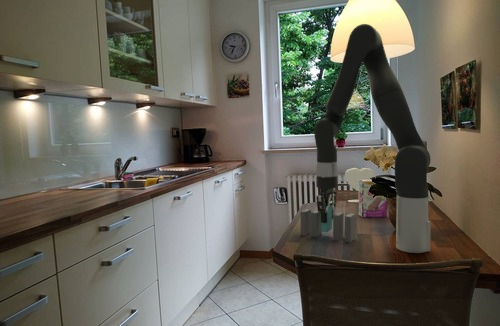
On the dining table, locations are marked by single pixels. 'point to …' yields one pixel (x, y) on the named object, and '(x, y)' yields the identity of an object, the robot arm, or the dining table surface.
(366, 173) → the heart sculpture
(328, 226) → the domino
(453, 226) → the dining table surface
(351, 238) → the domino
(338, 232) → the domino
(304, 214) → the domino
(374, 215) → the candy bar box
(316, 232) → the domino
